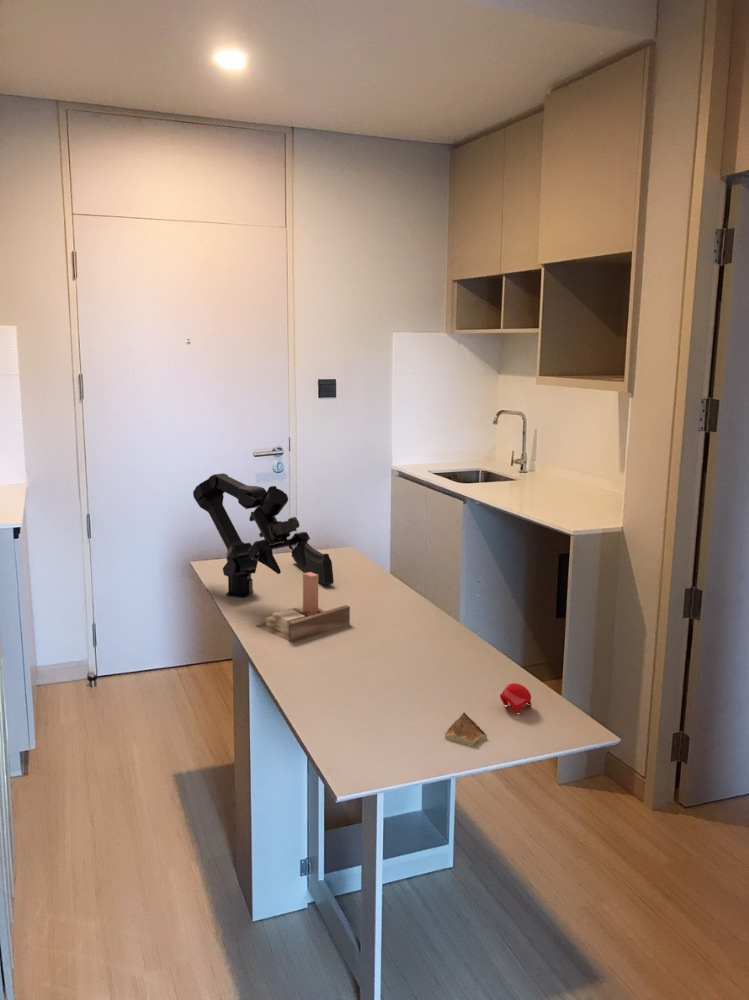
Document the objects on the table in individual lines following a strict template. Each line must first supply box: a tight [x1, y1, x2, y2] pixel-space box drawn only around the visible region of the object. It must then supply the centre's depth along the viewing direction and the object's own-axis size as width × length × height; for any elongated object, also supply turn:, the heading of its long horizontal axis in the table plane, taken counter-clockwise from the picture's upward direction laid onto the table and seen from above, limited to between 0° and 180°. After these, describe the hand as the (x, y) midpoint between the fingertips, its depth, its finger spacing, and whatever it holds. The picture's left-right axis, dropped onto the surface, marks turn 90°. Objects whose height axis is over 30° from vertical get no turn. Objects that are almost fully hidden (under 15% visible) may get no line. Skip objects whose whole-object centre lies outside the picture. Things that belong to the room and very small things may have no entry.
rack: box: [255, 604, 351, 643], centre depth 217 cm, size 16×20×6 cm
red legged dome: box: [499, 682, 532, 714], centre depth 172 cm, size 8×6×6 cm
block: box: [302, 572, 319, 615], centre depth 221 cm, size 4×2×13 cm
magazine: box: [291, 542, 335, 585], centre depth 265 cm, size 17×3×30 cm
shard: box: [444, 712, 488, 747], centre depth 163 cm, size 11×8×2 cm
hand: (292, 570), depth 225 cm, fingers open, 9 cm apart
